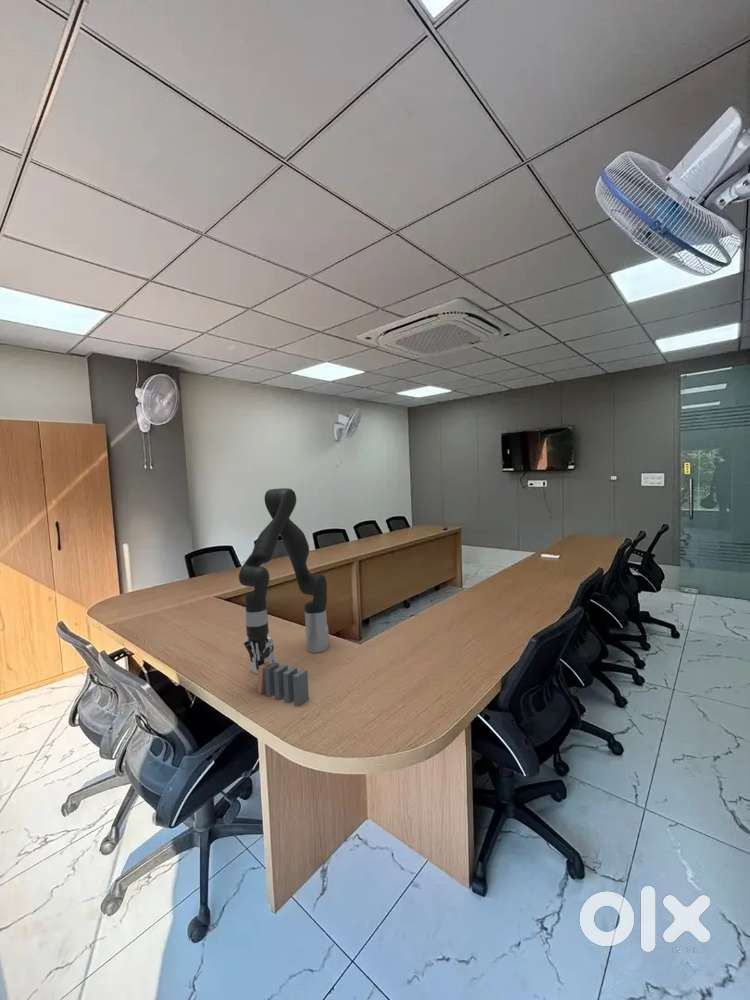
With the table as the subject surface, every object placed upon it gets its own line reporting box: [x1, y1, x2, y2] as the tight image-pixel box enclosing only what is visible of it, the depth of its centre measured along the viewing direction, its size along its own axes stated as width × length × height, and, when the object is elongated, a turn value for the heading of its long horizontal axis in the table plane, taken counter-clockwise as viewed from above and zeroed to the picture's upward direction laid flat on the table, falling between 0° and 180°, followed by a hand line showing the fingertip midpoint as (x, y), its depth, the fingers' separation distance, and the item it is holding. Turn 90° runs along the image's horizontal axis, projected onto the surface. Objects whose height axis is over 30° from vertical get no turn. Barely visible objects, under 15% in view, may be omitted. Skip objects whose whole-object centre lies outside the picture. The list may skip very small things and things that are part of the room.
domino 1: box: [256, 661, 273, 695], centre depth 145 cm, size 2×5×10 cm, turn 149°
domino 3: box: [273, 664, 289, 701], centre depth 142 cm, size 2×5×10 cm, turn 150°
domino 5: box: [293, 668, 310, 707], centre depth 137 cm, size 2×5×10 cm, turn 150°
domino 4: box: [283, 666, 299, 704], centre depth 139 cm, size 2×5×10 cm, turn 150°
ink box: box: [248, 635, 275, 675], centre depth 163 cm, size 8×5×12 cm, turn 141°
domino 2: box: [264, 661, 280, 698], centre depth 144 cm, size 2×5×10 cm, turn 150°
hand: (260, 669), depth 146 cm, fingers closed
